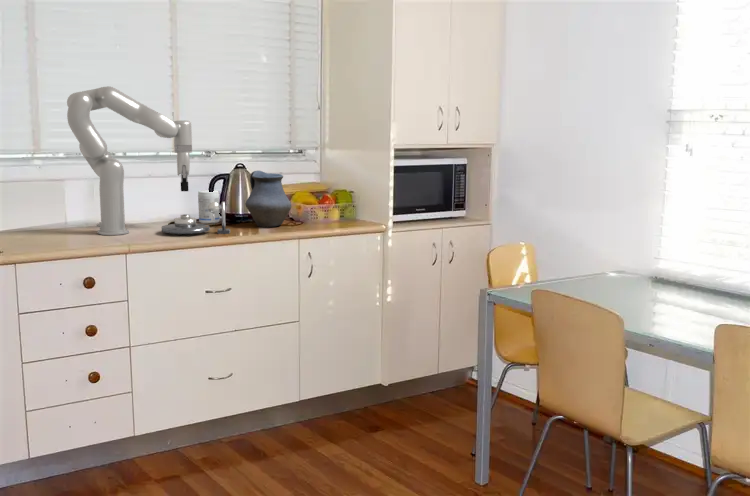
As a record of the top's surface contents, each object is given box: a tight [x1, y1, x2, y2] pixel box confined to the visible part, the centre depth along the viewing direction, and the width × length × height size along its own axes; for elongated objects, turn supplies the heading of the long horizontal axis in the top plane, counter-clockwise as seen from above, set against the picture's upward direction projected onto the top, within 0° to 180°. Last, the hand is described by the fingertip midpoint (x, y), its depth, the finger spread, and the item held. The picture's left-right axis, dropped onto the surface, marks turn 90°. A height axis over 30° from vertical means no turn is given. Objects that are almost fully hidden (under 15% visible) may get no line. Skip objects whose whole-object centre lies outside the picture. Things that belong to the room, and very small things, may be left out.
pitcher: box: [244, 170, 292, 228], centre depth 348 cm, size 21×22×25 cm
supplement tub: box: [197, 189, 221, 224], centre depth 357 cm, size 10×10×15 cm
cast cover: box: [174, 214, 197, 227], centre depth 329 cm, size 9×9×5 cm
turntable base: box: [176, 233, 198, 236], centre depth 326 cm, size 10×10×1 cm
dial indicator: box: [208, 201, 231, 235], centre depth 327 cm, size 9×5×14 cm, turn 97°
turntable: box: [160, 223, 211, 235], centre depth 326 cm, size 20×20×2 cm
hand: (184, 191), depth 336 cm, fingers closed
